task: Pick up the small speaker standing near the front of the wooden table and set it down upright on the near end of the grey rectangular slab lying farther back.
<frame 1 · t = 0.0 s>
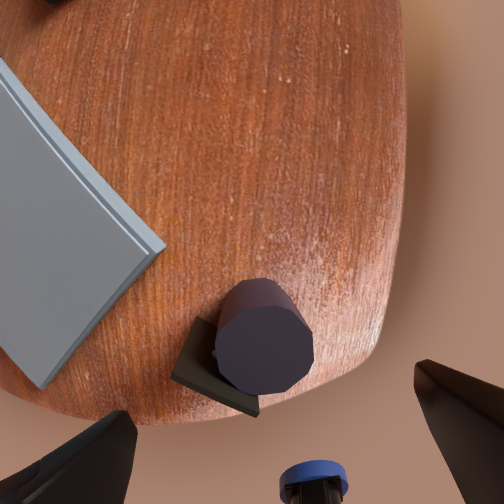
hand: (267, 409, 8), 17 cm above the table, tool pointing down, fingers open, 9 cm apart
speaker: (250, 304, 26), on the table
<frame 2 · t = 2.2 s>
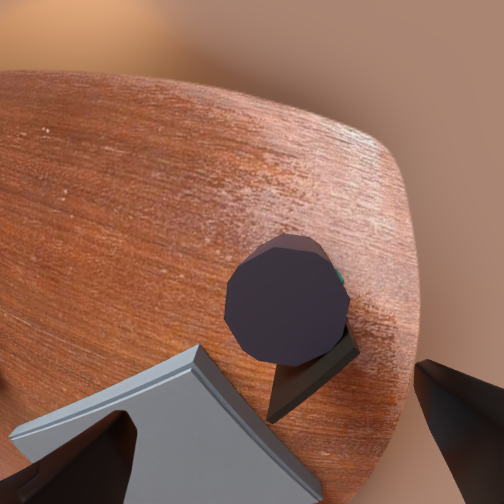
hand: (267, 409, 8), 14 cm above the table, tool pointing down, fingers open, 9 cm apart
speaker: (281, 278, 22), on the table
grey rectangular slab: (146, 468, 28), on the table
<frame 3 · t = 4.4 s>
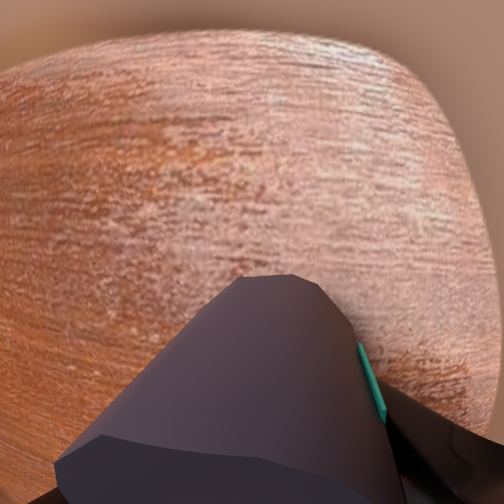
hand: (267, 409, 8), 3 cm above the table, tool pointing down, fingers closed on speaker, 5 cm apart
speaker: (258, 355, 12), on the table, touching gripper
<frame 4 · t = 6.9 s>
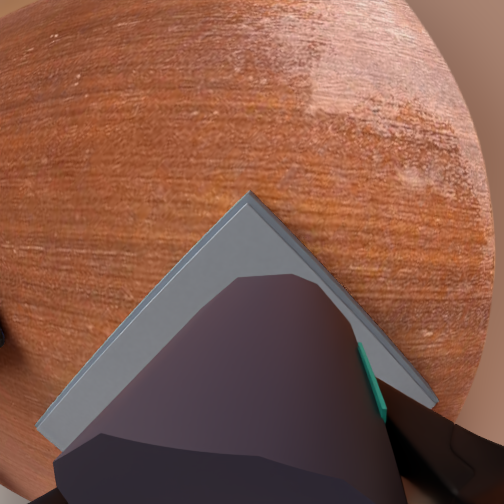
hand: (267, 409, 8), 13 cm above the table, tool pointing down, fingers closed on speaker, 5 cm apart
speaker: (257, 354, 12), point 10 cm above the table, touching gripper
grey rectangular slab: (208, 421, 25), on the table
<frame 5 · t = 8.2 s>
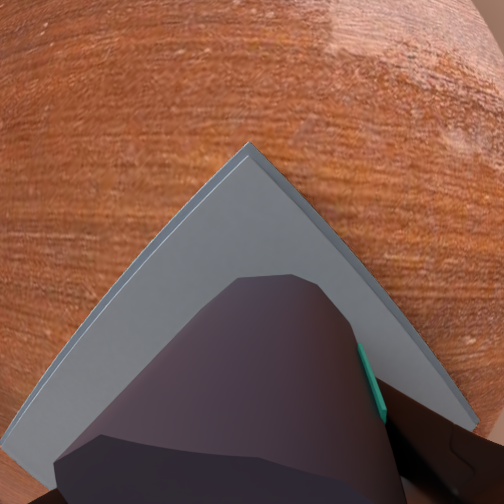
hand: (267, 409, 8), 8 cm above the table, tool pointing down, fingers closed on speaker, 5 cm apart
speaker: (257, 355, 12), point 5 cm above the table, touching gripper
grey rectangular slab: (196, 451, 19), on the table
when the fingers open (6 cm above the table, at t = 9.2 s): speaker stays where it is, resting on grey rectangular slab.
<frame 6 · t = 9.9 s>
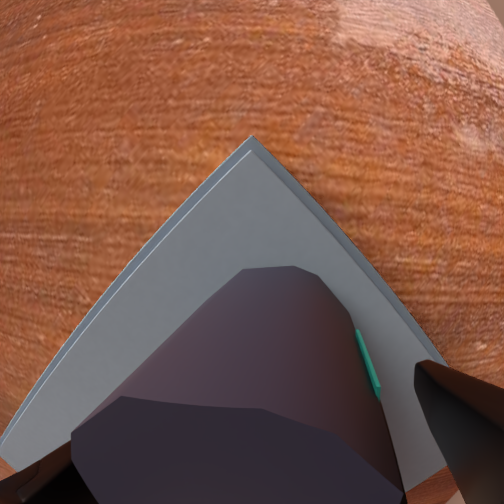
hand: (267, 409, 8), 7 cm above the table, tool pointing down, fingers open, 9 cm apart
speaker: (261, 344, 12), point 3 cm above the table, touching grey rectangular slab
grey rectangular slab: (196, 460, 18), on the table
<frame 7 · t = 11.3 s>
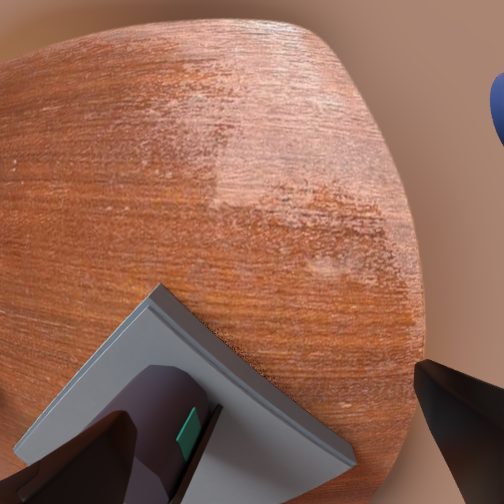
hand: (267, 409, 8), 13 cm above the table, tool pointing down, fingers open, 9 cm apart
speaker: (167, 399, 20), point 3 cm above the table, touching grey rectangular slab
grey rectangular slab: (150, 459, 26), on the table
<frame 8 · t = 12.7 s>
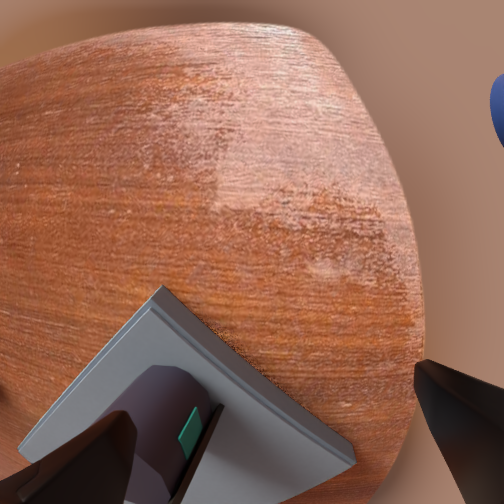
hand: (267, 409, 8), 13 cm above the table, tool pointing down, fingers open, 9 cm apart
speaker: (169, 398, 21), point 3 cm above the table, touching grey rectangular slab
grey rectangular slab: (153, 458, 26), on the table
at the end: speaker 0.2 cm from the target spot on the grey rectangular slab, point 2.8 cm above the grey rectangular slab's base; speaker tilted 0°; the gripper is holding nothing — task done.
